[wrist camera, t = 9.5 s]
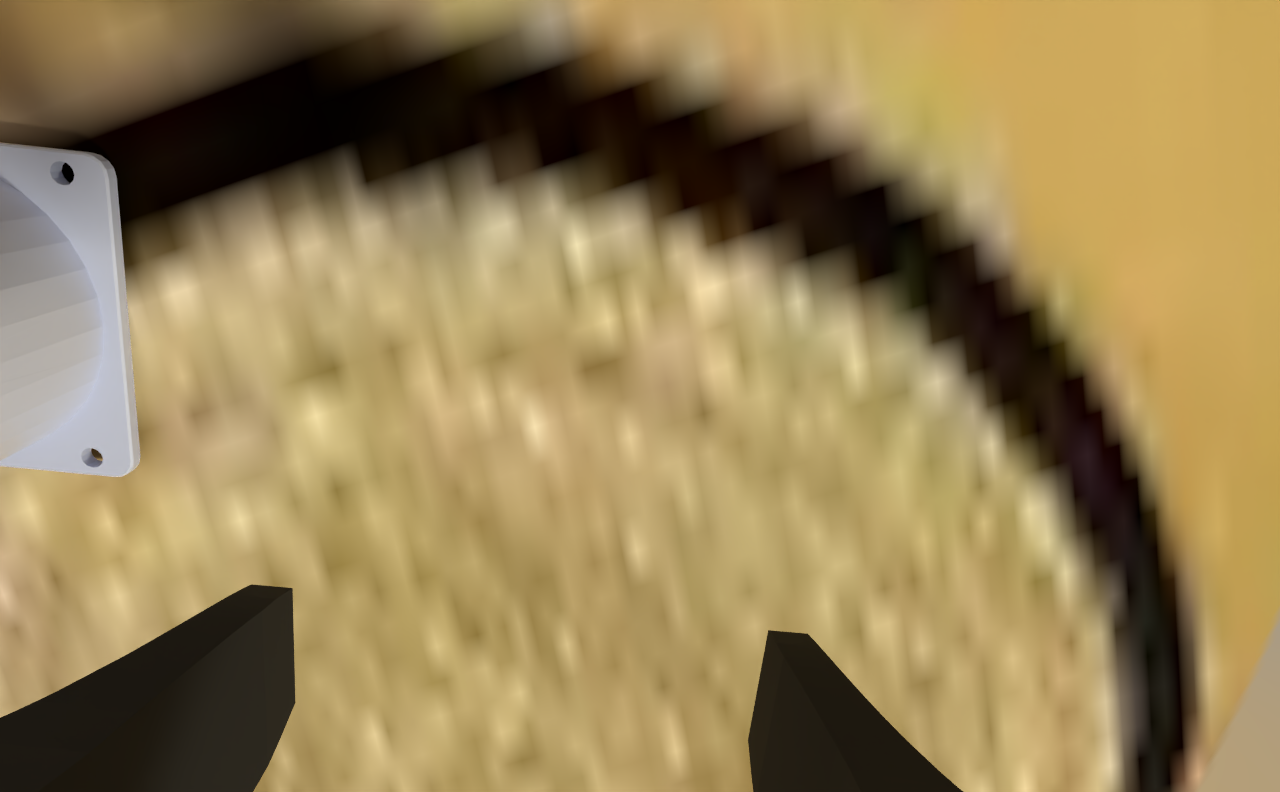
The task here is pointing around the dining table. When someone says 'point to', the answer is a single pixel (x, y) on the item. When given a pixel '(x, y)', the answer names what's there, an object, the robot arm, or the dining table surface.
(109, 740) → the robot arm
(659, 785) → the dining table surface
